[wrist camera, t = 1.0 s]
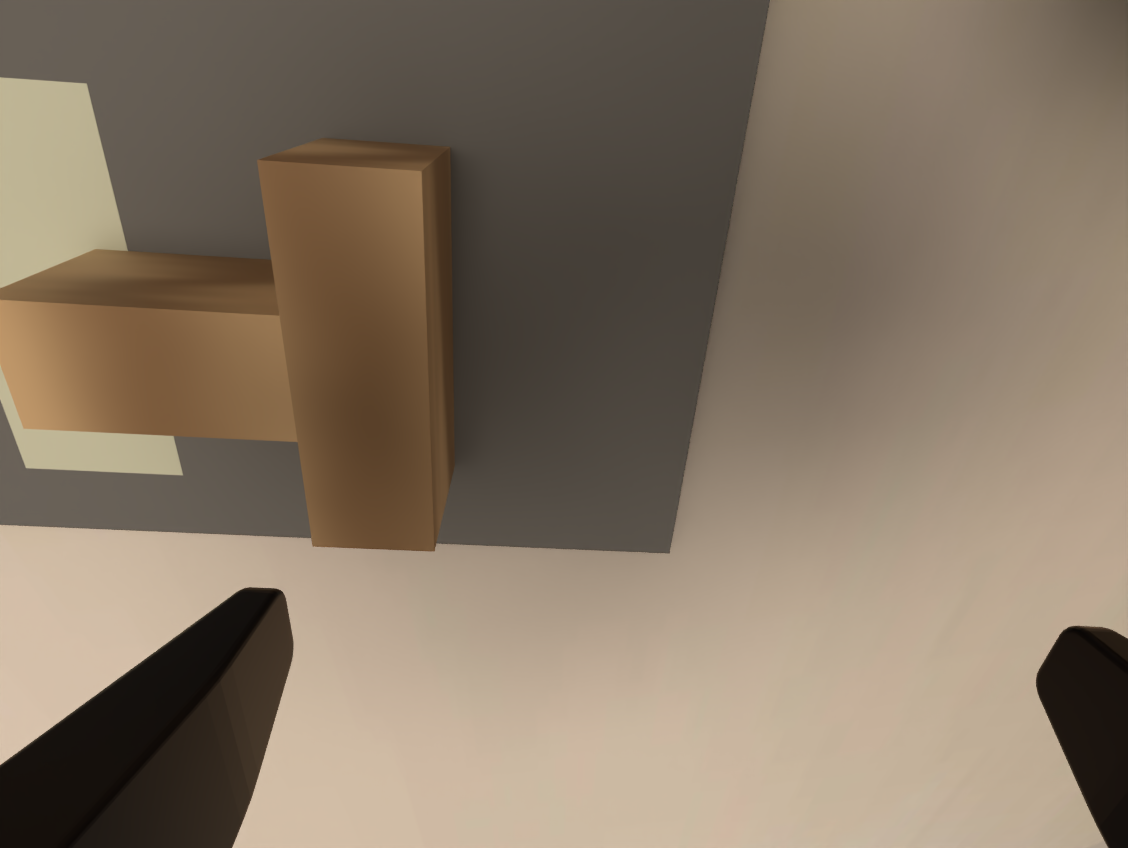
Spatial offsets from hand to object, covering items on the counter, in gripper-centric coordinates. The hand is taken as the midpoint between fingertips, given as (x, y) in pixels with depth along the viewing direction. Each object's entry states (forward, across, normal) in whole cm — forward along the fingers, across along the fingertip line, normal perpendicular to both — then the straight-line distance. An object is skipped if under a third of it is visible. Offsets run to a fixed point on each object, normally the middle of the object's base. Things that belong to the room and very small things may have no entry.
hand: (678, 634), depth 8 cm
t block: (+11, +9, +1) cm, 14 cm away
